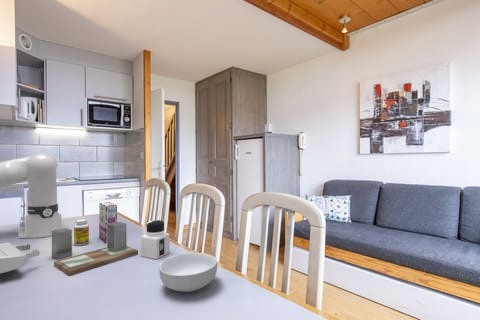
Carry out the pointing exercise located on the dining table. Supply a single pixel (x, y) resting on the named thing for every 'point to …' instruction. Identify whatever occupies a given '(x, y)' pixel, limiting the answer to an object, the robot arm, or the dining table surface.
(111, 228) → the billet
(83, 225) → the supplement bottle
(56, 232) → the loose billet
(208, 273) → the cereal bowl
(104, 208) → the candy bar box
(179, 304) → the dining table surface
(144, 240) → the container
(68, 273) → the wooden board
